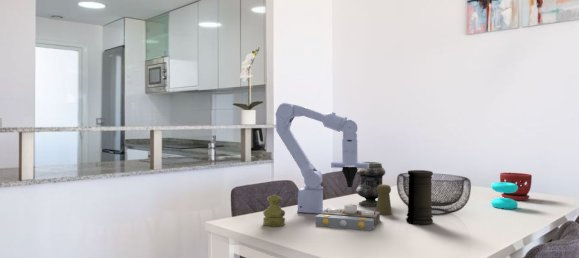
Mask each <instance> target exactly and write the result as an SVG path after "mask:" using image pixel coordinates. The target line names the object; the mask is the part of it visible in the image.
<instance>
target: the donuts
mask: <svg viewBox="0 0 579 258" xmlns="http://www.w3.org/2000/svg"><path fill="white" fill-rule="evenodd" d="M505 182H506V181H505ZM505 182H500V181H498V182H492V183H491V185H490V186H491V189H492V190H493V191H494V192H495V193H496V192H497V193H501V194H502V193H513V192H516V191H517V190H518V186H517V185H516V184H517V183H516V184H513V183H505ZM490 204H491V206H492V207H494V208H496V207H497V208H496V209H500V208H504V209H503V210H514V209H516V208H518V206H519V205H518V201H516V200H513V199H509V198H503V197H496V198H493V199H492V200H491V202H490Z"/></svg>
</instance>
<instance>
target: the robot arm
mask: <svg viewBox="0 0 579 258" xmlns="http://www.w3.org/2000/svg"><path fill="white" fill-rule="evenodd" d="M331 112H332V111H331ZM331 112H328V113H326V114H323V113H321V112H319V111H316V110H313V109H312V108H308V107H305V106H303V105H298V104H292V103H288V102H283V103H281V104H279V105H278V107H277V109H276V112H275V128H276V129H275V130H276V133H277V134H278V136H279V137H280V139H281V141H282V143H283V145H284V146H285V147H286V149H287V150H288V152H289V153H290V155H291V158H293V160H294V161H295V163H296V165H297V167H298V168H299V170H300V172H301V175H302V177H303V180H304V184H305V186H304V187H303V188H302V187H300V188H299V189H298V193H297V210H296V212H297V213H308V214H317V215H319V214H321V212H323V211H324V210H326V209H327V208H324V187H323V186H322V183H323V180H324V175H323V174H322V172H321V171H319V170H318V169H317V168H316V167H315V166H314V164H313V163H312V162H311V160H310V159H309V158H308V156H307V155H306V153H305V151H304V150H303V148H302V146H301V145H300V143H299V142H298V139H296V137H295V136H294V134H293V132H292V130H291V126H292V122H293V120H294V119H295V117H296V118H299V117H306V118H308V119H311V120H316V121H318V122H321V123H322V124H323V127H324V128H327V129H330V130H334V131H335V132H342V143H341V145H342V147H341V148H342V151H341V152H342V157H341V158H342V159H341V161H342V162H340V161H337V162H336V161H333V162H332V161H331V162H330V168H334V169H335V168H337V169H338V168H341V171H342V173H343V175H344V178H345V180H346V184H347V188H353V184H354V179H355V177H356V174H357V170H358V168H366V169H369V163H361V162H358V134H357V132H358V124H357V123H356V121H354V120H352V119H348V117H346V116H345V117H344V116H343V117H342V116H340V115H337V114H336V113H335V112H332V113H331Z"/></svg>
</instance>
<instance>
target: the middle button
mask: <svg viewBox="0 0 579 258" xmlns="http://www.w3.org/2000/svg"><path fill="white" fill-rule="evenodd" d="M343 209H344V213H345V214H357V210H358V205H357V204H352V203H347V204H344V207H343Z"/></svg>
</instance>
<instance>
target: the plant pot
mask: <svg viewBox="0 0 579 258" xmlns="http://www.w3.org/2000/svg"><path fill="white" fill-rule="evenodd" d="M532 177H533V175H532V174H529V173H522V172H521V173H520V172H500V173H499V180H500V181H499V182H505V183H513V184H516V185H517V186H518V190H517V191H516V192H513V193H501V194H500V195H501V196H502V197H501V198H503V197H504V198H509V199H513V200H515V201H516V200H518V201H526V199H527V200H529V198H530V195H528V194H529V192H530V191H531V188H532V180H533V179H532Z"/></svg>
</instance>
